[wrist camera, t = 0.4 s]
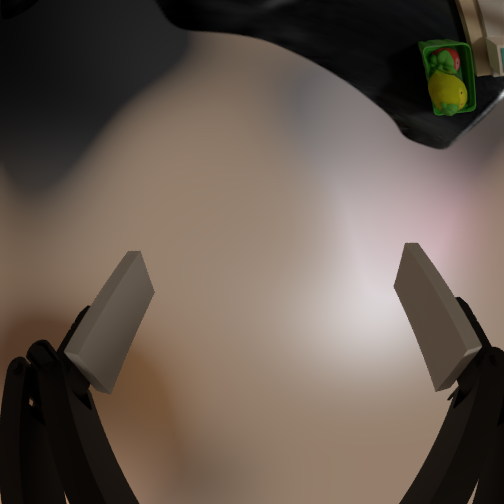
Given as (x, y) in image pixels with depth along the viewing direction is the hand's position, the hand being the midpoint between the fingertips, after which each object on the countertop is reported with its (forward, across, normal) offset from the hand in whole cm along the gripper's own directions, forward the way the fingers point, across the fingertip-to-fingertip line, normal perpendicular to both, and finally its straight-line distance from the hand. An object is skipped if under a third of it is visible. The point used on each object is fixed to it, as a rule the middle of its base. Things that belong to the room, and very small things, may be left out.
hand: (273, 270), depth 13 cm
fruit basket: (+27, +25, +15) cm, 39 cm away
